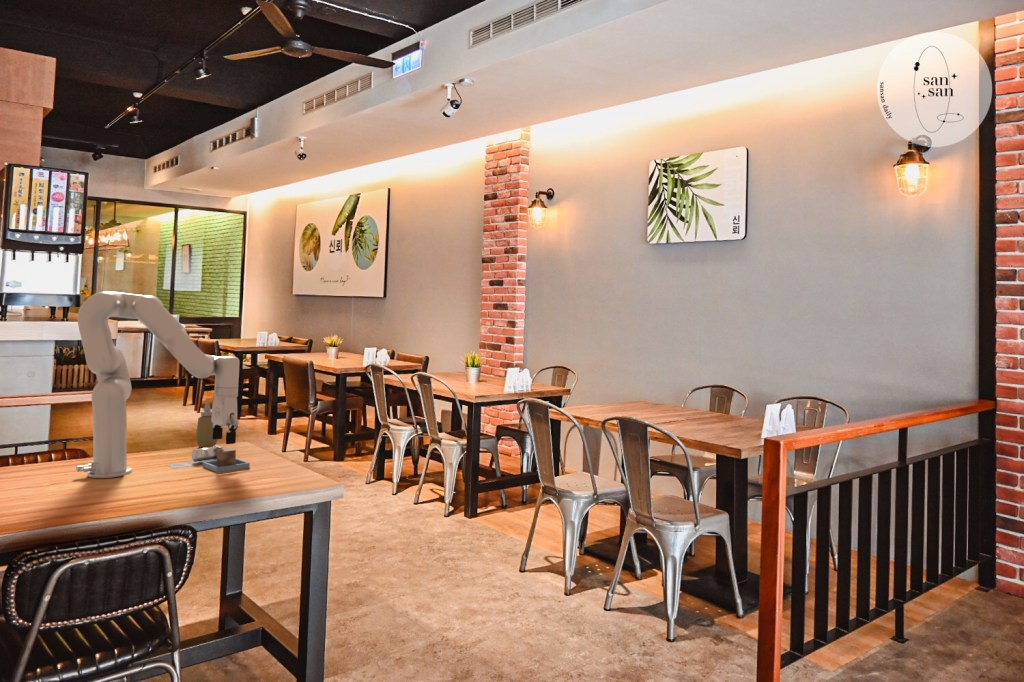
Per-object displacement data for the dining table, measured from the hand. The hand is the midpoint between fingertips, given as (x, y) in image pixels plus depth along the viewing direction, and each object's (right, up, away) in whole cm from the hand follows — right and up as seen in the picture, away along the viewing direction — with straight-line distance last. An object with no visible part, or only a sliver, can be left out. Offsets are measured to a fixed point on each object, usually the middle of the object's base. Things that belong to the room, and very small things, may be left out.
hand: (223, 441), depth 239 cm
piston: (-10, -9, +8) cm, 16 cm away
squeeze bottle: (-21, -8, +35) cm, 41 cm away
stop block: (+1, -9, +1) cm, 9 cm away
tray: (+1, -10, +1) cm, 10 cm away
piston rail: (-12, -9, +6) cm, 16 cm away
